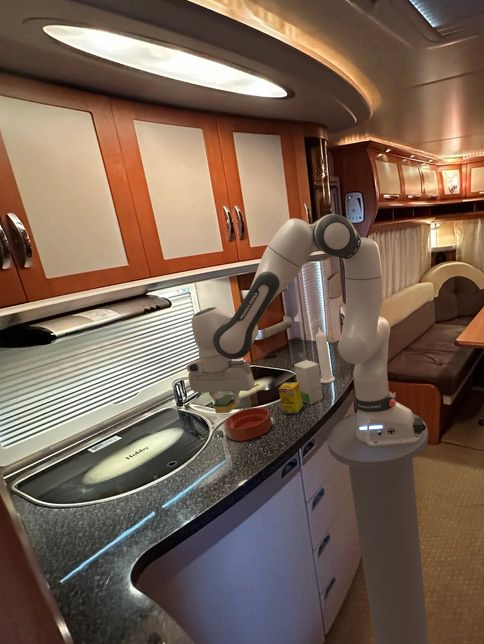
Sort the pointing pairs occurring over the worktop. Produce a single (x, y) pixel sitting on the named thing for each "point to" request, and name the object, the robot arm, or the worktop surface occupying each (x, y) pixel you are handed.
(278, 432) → the worktop surface
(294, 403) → the supplement box
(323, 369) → the candle
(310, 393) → the cosmetic box
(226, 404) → the sponge
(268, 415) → the bowl
